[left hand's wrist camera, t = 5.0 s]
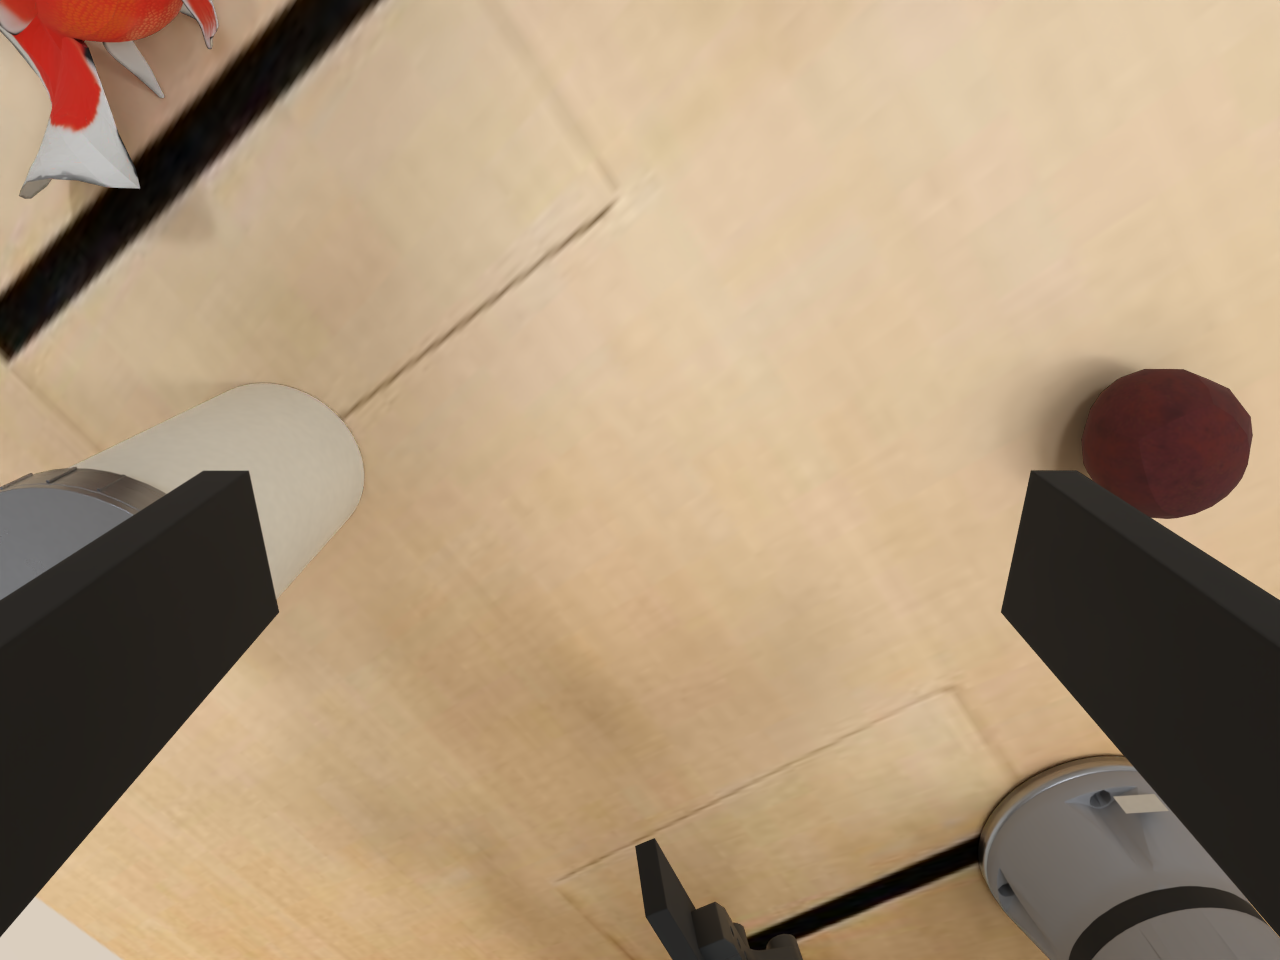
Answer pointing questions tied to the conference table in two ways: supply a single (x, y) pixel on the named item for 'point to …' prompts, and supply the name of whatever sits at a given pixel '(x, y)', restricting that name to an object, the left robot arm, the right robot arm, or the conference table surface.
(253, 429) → the jar
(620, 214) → the conference table surface
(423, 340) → the conference table surface
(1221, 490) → the potato
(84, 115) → the fish
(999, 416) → the conference table surface
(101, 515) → the lid
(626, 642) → the conference table surface
